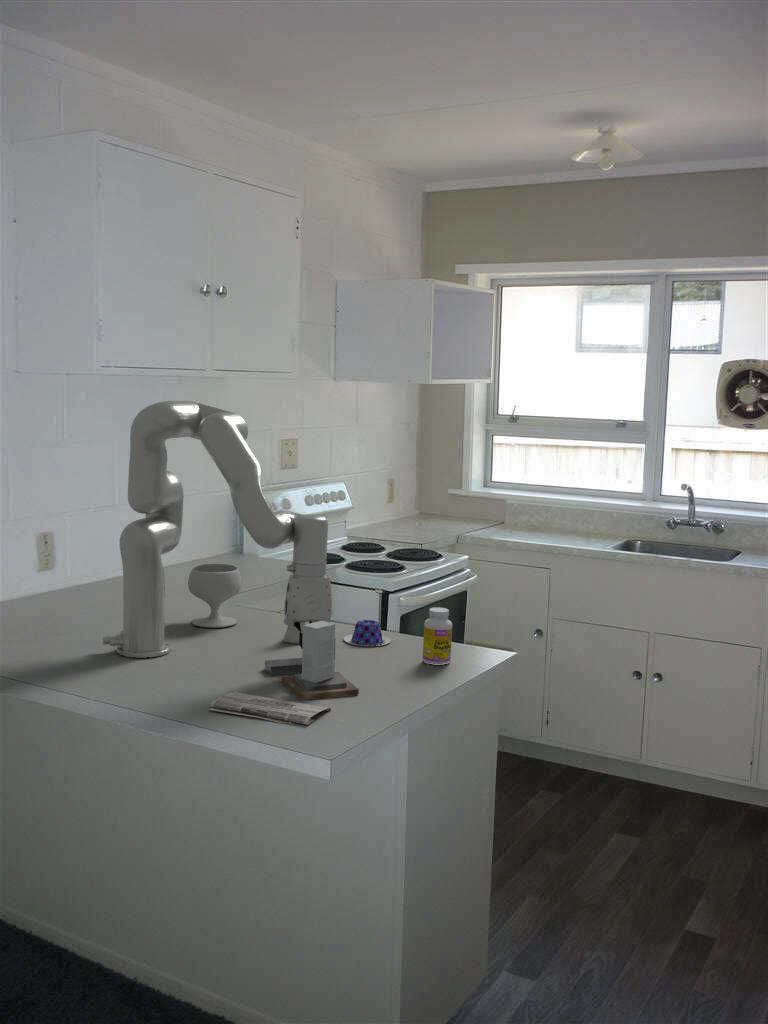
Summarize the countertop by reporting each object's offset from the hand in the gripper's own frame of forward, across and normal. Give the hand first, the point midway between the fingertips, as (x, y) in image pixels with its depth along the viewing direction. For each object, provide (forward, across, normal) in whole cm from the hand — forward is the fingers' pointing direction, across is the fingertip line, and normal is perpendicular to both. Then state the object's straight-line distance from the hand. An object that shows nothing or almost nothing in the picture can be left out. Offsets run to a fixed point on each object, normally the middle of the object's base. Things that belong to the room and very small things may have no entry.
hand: (306, 649), depth 229 cm
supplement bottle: (+5, +32, -3) cm, 32 cm away
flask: (+5, +5, +24) cm, 25 cm away
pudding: (+5, +22, +19) cm, 30 cm away
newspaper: (+6, -15, -25) cm, 30 cm away
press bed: (+5, -1, -14) cm, 15 cm away
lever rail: (+5, -1, 0) cm, 5 cm away
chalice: (+6, -11, +46) cm, 47 cm away
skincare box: (+3, -2, -14) cm, 14 cm away
